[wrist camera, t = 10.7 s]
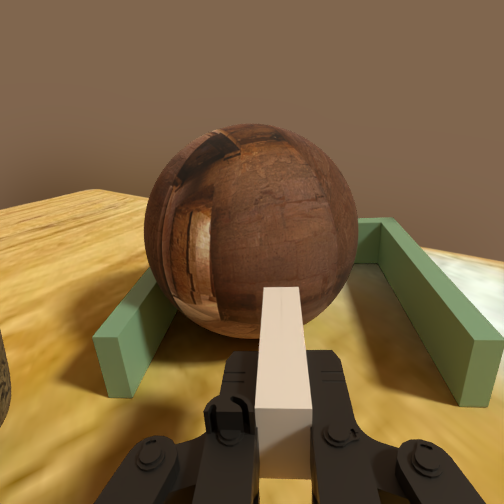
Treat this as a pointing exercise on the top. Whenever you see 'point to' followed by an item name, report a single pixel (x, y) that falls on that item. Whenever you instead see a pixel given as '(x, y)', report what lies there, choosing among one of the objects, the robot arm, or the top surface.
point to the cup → (4, 383)
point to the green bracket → (368, 251)
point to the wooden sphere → (249, 227)
